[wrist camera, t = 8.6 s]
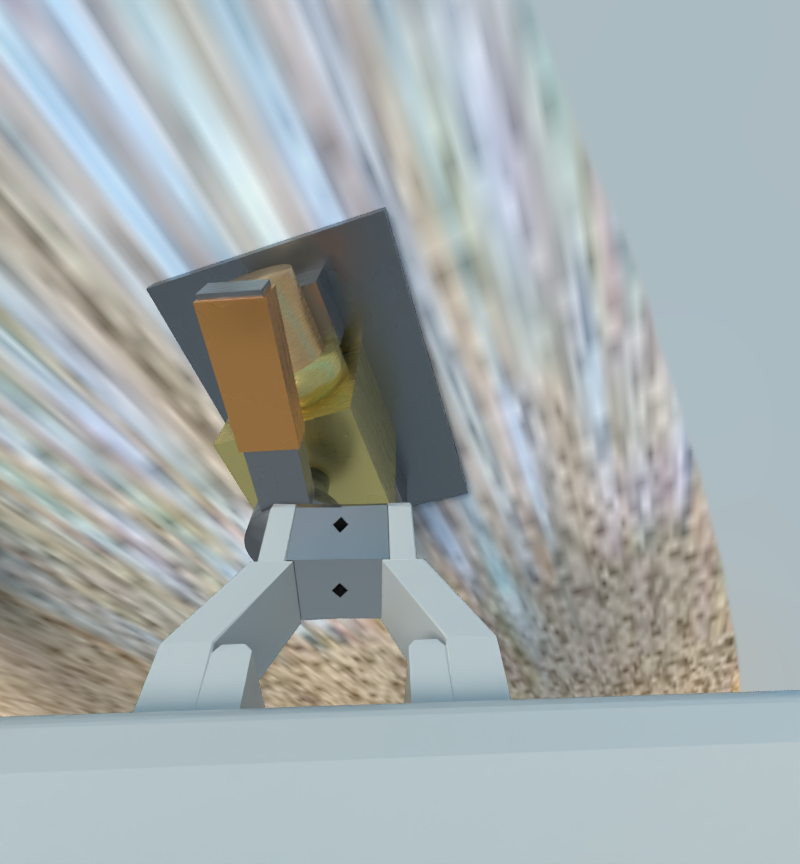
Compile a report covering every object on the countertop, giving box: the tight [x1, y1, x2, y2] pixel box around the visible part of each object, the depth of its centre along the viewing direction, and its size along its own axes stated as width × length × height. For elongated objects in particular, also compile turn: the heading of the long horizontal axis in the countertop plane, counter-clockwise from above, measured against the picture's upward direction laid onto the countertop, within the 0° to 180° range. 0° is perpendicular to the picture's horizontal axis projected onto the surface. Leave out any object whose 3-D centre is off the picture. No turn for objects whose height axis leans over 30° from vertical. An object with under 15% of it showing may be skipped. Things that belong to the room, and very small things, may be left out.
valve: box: [147, 207, 468, 509], centre depth 24 cm, size 12×17×10 cm
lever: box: [193, 279, 338, 562], centre depth 17 cm, size 11×4×1 cm, turn 4°
